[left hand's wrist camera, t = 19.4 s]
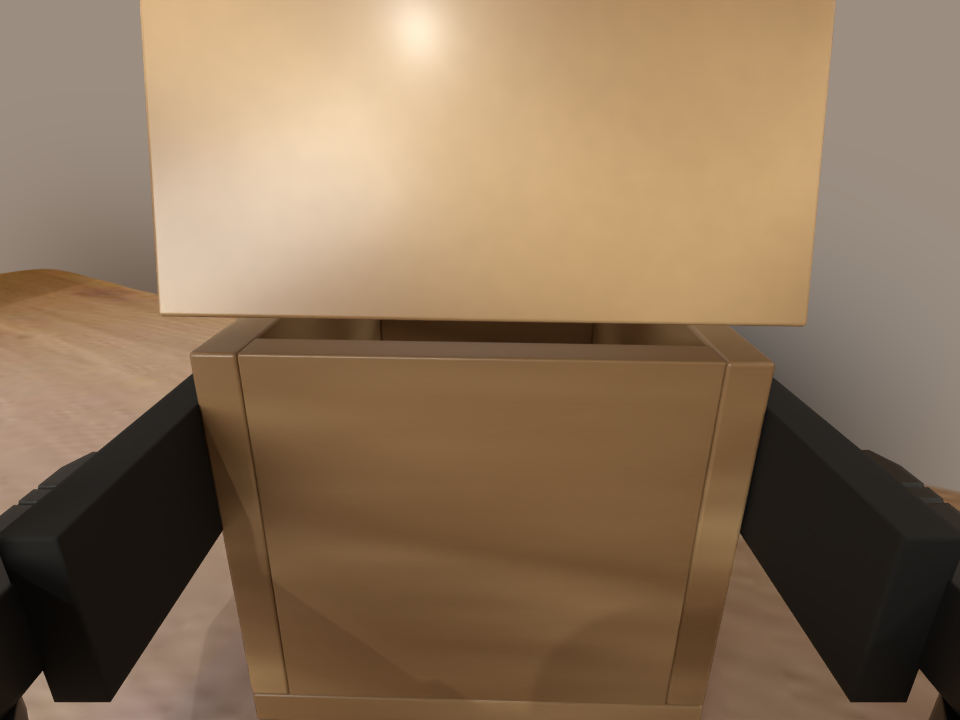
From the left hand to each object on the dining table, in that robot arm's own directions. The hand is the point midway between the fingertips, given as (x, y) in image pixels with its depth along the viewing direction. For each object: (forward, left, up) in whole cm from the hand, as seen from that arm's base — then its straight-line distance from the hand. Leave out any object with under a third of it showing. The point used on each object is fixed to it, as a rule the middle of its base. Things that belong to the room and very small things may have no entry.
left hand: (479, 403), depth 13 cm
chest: (+2, -3, -7) cm, 7 cm away
